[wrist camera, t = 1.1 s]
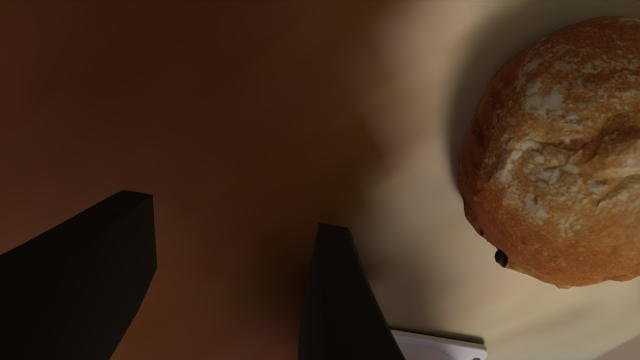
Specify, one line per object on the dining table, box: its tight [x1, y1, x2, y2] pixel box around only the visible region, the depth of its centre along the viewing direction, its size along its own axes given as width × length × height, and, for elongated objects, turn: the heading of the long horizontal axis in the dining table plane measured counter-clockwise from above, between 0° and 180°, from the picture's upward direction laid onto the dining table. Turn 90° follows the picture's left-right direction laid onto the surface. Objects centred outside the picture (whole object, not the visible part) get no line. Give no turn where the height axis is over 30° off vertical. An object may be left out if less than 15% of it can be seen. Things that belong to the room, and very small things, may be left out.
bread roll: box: [457, 16, 640, 289], centre depth 15 cm, size 10×10×8 cm
